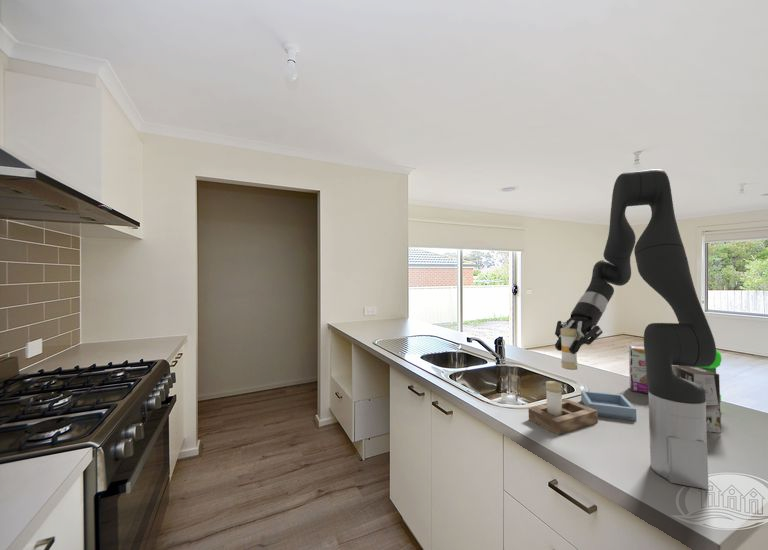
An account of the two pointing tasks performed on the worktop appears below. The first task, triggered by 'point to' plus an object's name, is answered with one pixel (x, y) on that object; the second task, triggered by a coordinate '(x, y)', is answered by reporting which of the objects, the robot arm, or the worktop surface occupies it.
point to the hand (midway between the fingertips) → (564, 350)
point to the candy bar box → (637, 369)
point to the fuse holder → (564, 417)
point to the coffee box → (711, 390)
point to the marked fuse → (567, 357)
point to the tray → (609, 405)
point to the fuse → (554, 398)
